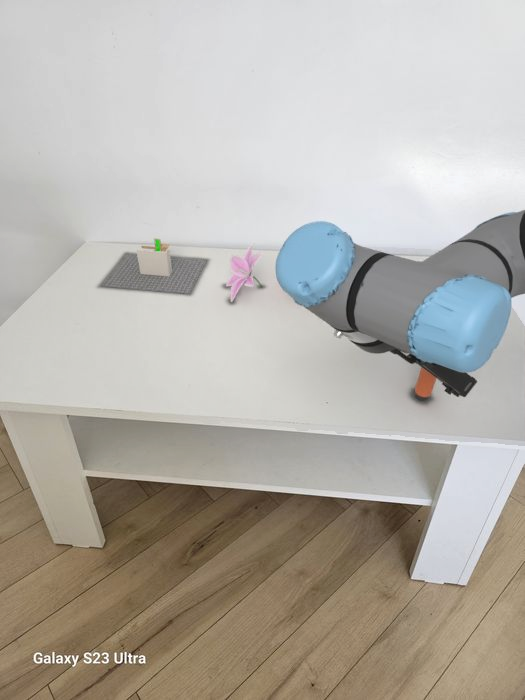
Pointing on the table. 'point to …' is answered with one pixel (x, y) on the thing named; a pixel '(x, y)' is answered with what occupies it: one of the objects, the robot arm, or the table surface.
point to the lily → (242, 271)
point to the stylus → (424, 385)
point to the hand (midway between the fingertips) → (422, 362)
